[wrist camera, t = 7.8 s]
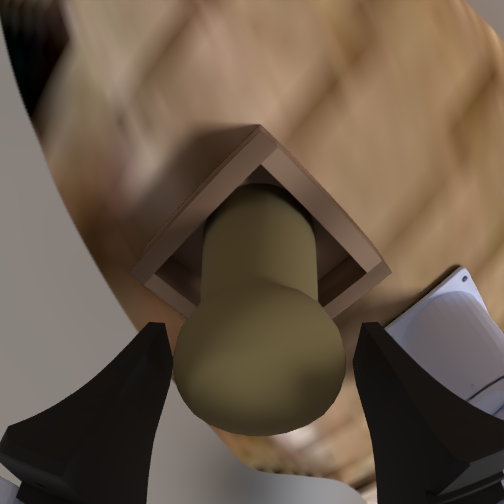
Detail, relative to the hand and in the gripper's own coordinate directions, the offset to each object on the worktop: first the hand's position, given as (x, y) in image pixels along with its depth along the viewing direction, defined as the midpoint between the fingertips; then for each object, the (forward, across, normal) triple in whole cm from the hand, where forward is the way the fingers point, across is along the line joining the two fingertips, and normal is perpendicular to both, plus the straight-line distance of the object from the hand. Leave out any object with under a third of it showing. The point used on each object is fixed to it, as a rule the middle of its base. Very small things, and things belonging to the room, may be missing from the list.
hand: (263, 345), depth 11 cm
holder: (+8, 0, 0) cm, 9 cm away
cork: (+8, 0, -1) cm, 8 cm away
